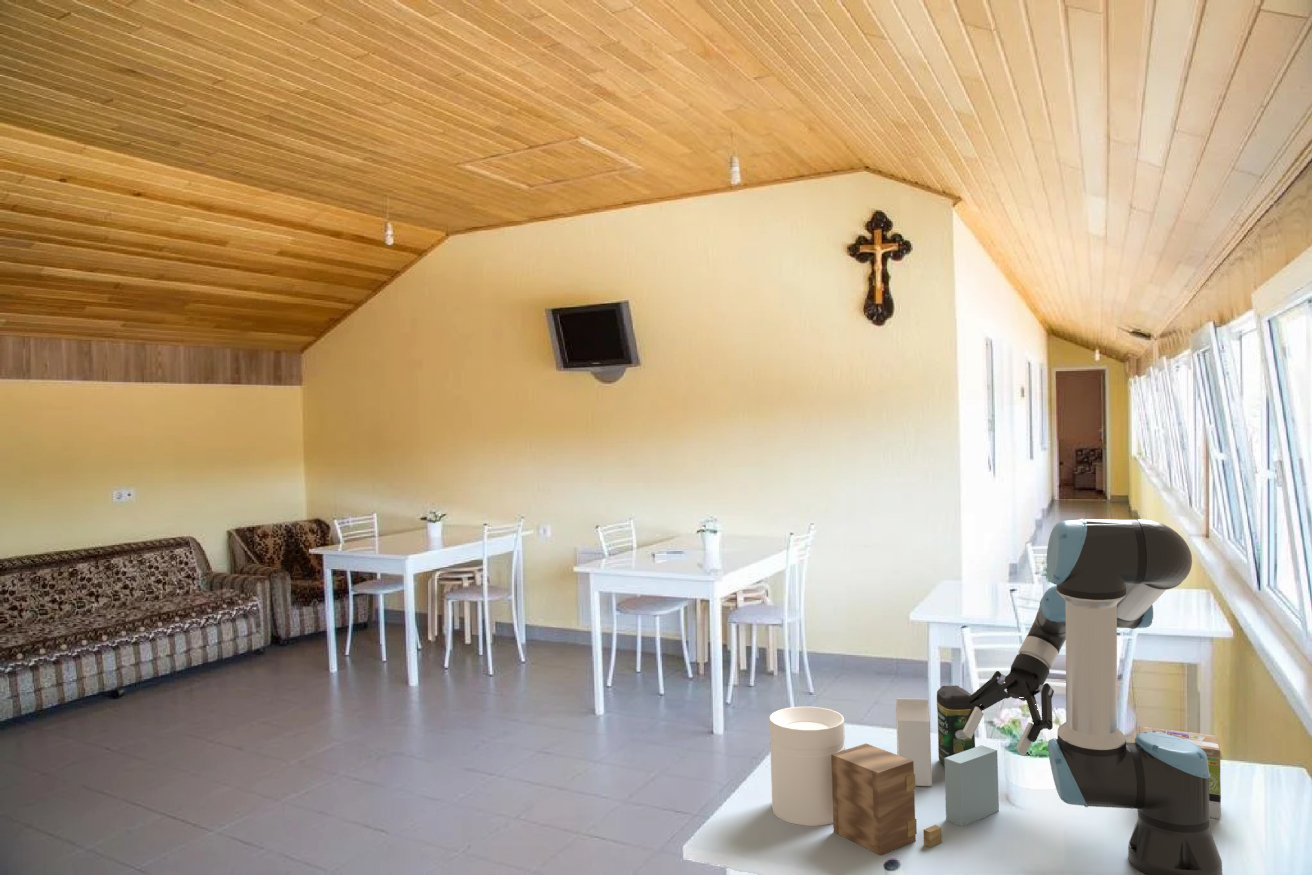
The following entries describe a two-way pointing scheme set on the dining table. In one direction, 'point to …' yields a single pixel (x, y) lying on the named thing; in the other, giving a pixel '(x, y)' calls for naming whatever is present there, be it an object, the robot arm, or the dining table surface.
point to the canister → (804, 763)
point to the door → (971, 785)
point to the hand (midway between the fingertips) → (992, 743)
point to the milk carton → (915, 737)
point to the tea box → (1213, 755)
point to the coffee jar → (953, 721)
